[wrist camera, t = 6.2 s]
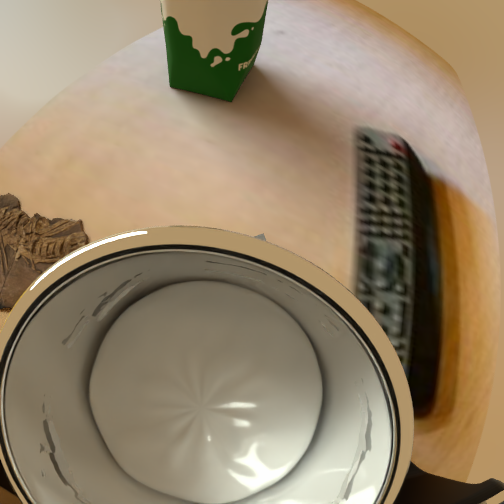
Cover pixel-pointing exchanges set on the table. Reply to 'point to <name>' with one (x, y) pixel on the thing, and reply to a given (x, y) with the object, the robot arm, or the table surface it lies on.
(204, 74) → the milk carton
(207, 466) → the metal tumbler
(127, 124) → the table surface
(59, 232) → the wooden fragment
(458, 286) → the table surface
